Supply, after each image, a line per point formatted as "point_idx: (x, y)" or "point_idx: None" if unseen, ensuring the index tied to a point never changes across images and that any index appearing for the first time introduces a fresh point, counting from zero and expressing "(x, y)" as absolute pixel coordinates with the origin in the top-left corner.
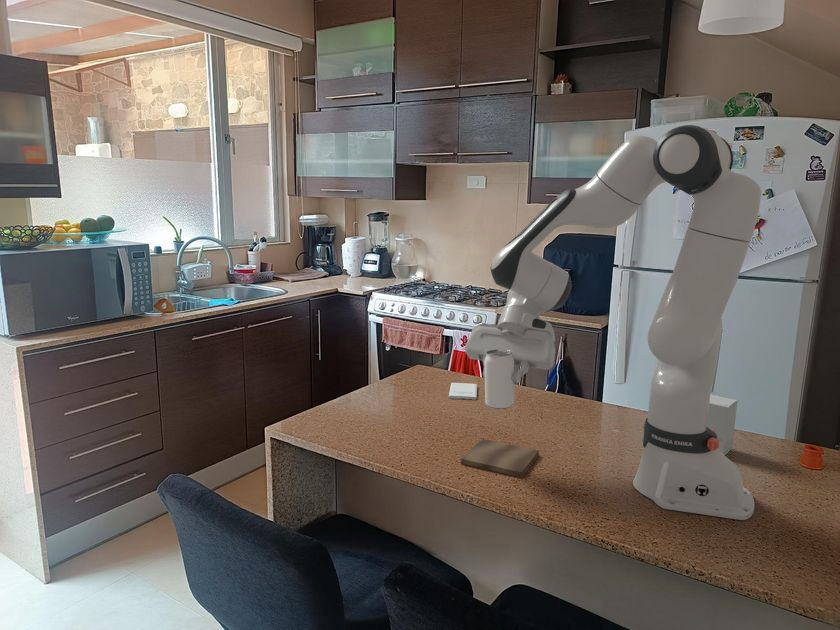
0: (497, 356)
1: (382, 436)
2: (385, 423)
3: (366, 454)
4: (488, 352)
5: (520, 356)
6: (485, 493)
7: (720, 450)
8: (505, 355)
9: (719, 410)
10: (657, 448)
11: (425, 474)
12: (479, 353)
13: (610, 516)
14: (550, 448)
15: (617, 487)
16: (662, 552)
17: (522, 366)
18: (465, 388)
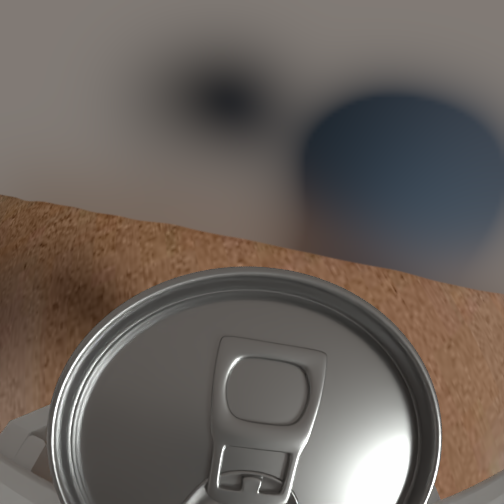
0: (229, 279)
1: (472, 378)
2: (488, 429)
3: (453, 297)
4: (421, 467)
5: (11, 480)
6: (213, 247)
7: None
8: (109, 316)
9: None
10: None
11: (341, 272)
12: (480, 482)
13: (36, 253)
14: None
15: (15, 348)
16: (14, 203)
17: (35, 428)
18: None
